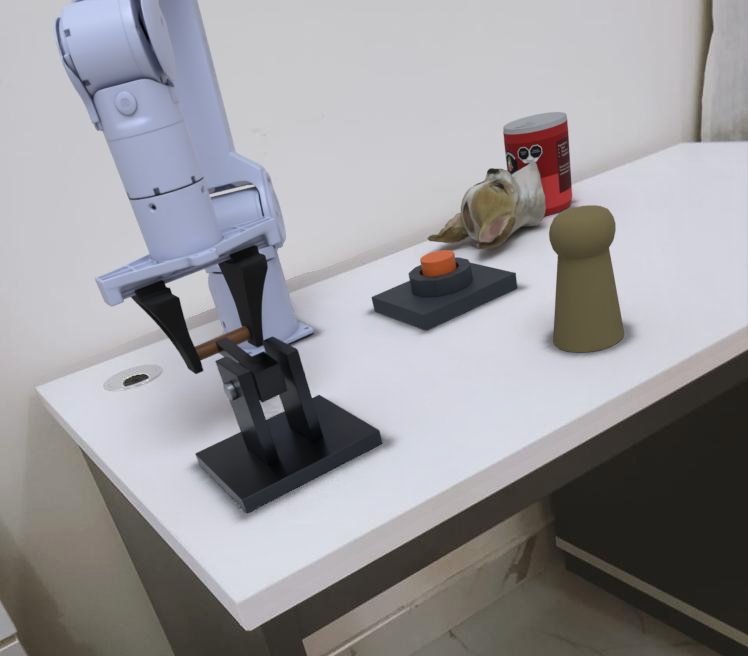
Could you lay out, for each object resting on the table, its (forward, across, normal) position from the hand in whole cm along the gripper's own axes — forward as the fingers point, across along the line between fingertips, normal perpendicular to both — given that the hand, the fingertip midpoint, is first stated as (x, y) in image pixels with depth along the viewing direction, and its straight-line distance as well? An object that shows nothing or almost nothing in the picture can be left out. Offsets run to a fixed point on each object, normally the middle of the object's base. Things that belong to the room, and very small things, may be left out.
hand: (225, 356), depth 63 cm
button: (+3, +27, +7) cm, 28 cm away
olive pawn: (+7, +28, -13) cm, 32 cm away
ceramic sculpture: (+7, +43, +17) cm, 47 cm away
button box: (+6, +27, +7) cm, 29 cm away
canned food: (+6, +54, +21) cm, 59 cm away
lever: (+1, 0, -4) cm, 4 cm away
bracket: (+7, 0, -8) cm, 10 cm away
